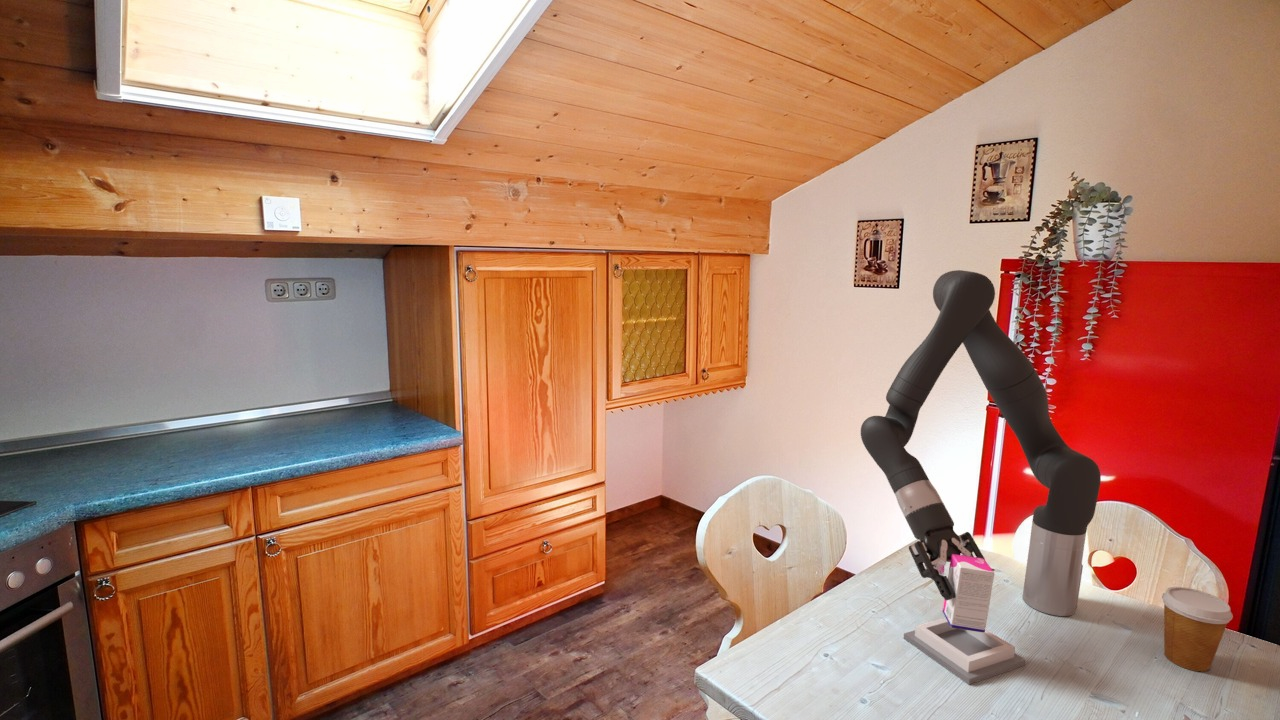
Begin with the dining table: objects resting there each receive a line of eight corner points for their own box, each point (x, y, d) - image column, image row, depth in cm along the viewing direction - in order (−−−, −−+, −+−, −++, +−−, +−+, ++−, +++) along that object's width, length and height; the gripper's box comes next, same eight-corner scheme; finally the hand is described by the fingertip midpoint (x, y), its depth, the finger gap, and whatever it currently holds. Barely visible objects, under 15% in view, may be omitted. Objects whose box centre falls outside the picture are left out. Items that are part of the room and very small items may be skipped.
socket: (957, 623, 124) (958, 608, 124) (1025, 665, 111) (1027, 649, 111) (903, 638, 119) (905, 623, 118) (968, 684, 106) (970, 668, 105)
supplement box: (986, 633, 111) (995, 572, 109) (950, 628, 112) (958, 567, 110) (976, 615, 116) (984, 557, 115) (941, 610, 118) (949, 552, 116)
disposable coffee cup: (1205, 651, 117) (1216, 591, 115) (1234, 683, 108) (1246, 618, 106) (1143, 640, 120) (1153, 581, 118) (1166, 670, 111) (1177, 607, 109)
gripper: (908, 505, 116) (953, 595, 108) (963, 496, 122) (1010, 581, 113) (883, 521, 122) (924, 608, 113) (937, 512, 128) (980, 594, 119)
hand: (967, 594), depth 113 cm, fingers closed on supplement box, 8 cm apart
